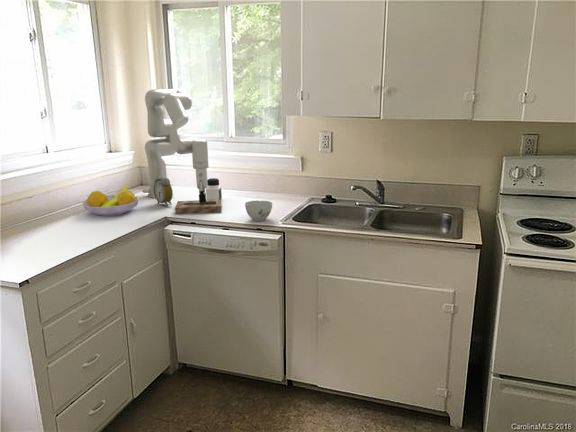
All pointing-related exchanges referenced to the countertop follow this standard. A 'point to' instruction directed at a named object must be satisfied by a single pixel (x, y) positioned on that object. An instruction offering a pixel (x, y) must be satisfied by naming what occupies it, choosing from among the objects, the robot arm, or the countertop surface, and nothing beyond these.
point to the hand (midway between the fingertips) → (202, 201)
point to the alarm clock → (163, 190)
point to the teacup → (258, 209)
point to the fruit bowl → (110, 202)
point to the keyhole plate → (198, 207)
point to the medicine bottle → (213, 190)
